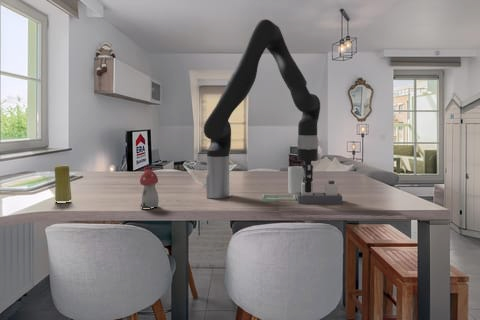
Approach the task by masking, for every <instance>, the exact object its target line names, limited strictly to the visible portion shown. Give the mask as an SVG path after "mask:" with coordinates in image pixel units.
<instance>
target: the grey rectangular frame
mask: <svg viewBox="0 0 480 320" xmlns="http://www.w3.org/2000/svg"><path fill="white" fill-rule="evenodd" d="M296 201H297V204H298V205H300V204H303V205H305V204H306V205H307V204H308V205H321V204H322V205H343V195H342V194H341V193H339V192H338V194H337V196H325V192H313V196H309V195H301V192H297V194H296Z"/></svg>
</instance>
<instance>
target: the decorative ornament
mask: <svg viewBox="0 0 480 320" xmlns="http://www.w3.org/2000/svg"><path fill="white" fill-rule="evenodd" d="M143 171H144V172H143V173H142V174H141V176H140V179H139V184H140V185H142V186H143V190H142V194H141V195H142V196H141V203H140V208H141V207H142V208H151V207H158V206H159V200H160V199H159V193H158V191H157V189H156V184H158V183H159V179H158V176H157V174H156V173H155V172H154V171H153V170H152V169H151V167H150V166H145V167H144V168H143Z"/></svg>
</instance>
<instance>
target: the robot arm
mask: <svg viewBox="0 0 480 320" xmlns="http://www.w3.org/2000/svg"><path fill="white" fill-rule="evenodd" d="M266 49H267V50H268V52H269V53H270V54H271V55H272V57H273V59H274V60H275V62H276V64H277V68H278V72H279V73H280V76H281V78H282V80H283V82H284V84H285V85H286V87H287V89H288V90H289V92H290V95H291V99H292V100H293V103H294V106H295V107H296V108H297V110H298V111H300V112H301V113H302V114H301V119H300V120H299V121H298V126H297V127H298V128H297V129H298V130H297V146H296V147H297V148H296V149H297V153H296V155H297V156H296V157H297V158H296V159H297V161H302V162H301V163H302V164H301V167H302V178H303V183H304V180H305V192H306V193H310V192H311V183H313V181H314V180H313V176H314V172H313V171H314V165H313V164H312V162H313V161H314V162H315V161H317V160H318V153H319V151H318V150H319V149H318V148H319V147H318V145H319V144H318V143H319V141H318V122H319V117H320V111H321V101H320V98H319V97H318V95H316V94H314V93H311V92H310V91H309V89H308V87H307V85H308V83H307V80H306V78H305V76H304V75H303V72H302V71H301V69H300V68H299V66H298V65H297V63H296V62H295V60H294V58H293V56H292V54H291V52H290V50H289V49H288V47H287V44H286V41H285V38H284V36H283V33H282V31H281V28H280V27H279V26H278V24H277V25H276V23H274V22H273V21H271V20H269V19H261V20H259V21H258V22H257V23H256V24H255V25H254V28H253V29H252V31H251V34H250V37H249V39H248V41H247V43H246V46H245V48H244V51H243V52H242V55H241V57H240V59H239V60H238V63H237V65H236V67H235V68H234V70H233V71H232V74H231V76H230V78H229V80H228V81H227V84H226V86H225V88H224V89H223V92H222V93H221V96H220V98H219V99H218V102H217V104H216V106H215V107H214V108H213V110H212V111H211V113H210V114H209V116H208V117H207V119H206V121H204V122H205V123H204V124H203V133H204V136H205V137H206V138H207V139H208V140H210V145H209V146H208V148H207V150H206V169H207V171H206V173H207V174H206V175H205V176H206V177H205V179H206V180H205V181H206V185H205V186H206V188H205V189H206V198H207V199H226V198H229V197H230V194H231V193H230V151H231V146H232V128H231V123H230V121H229V120H230V118H231V116H232V114H233V113H234V111H235V110H236V109H237V108H238V106H240V105H241V103H242V102H243V101H244V100H245V99H246V97H247V96H249V95H248V94H249V93H250V91H251V90H252V87H253V86H254V83H255V82H256V78H257V73H258V67H259V64H260V60H261V58H262V56H263V54H264V52H265V50H266Z"/></svg>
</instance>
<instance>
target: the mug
mask: <svg viewBox="0 0 480 320" xmlns="http://www.w3.org/2000/svg"><path fill="white" fill-rule="evenodd" d="M287 169H288V172H287V173H288V174H287V175H288V176H287V177H288V178H287V179H288V180H287V182H288V183H287V184H288V188H287V189H288V190H287V191H288V193H289V194H293V195H295V194H296V195H297V192H301V185H302V183H303V178H302V165H301V166H297V165H296V166H295V165H294V166H292V165H291V166H290V165H289V166H288V168H287Z"/></svg>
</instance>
